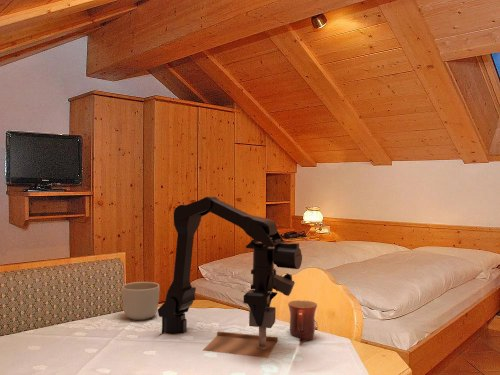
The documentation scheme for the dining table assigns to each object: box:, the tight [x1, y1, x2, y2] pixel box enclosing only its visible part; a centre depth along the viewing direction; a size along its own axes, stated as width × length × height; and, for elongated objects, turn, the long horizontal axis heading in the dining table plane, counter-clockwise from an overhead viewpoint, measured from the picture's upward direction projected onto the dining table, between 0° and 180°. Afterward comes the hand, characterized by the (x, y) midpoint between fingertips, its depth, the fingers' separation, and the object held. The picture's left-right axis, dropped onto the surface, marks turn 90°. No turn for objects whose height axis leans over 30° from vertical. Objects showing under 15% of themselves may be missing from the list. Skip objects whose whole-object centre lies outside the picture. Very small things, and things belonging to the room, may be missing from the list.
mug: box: [287, 299, 318, 342], centre depth 133 cm, size 12×9×10 cm
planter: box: [121, 281, 160, 321], centre depth 153 cm, size 12×12×11 cm
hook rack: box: [202, 327, 279, 359], centre depth 124 cm, size 18×13×7 cm
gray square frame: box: [248, 306, 277, 329], centre depth 123 cm, size 6×6×4 cm
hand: (262, 322), depth 123 cm, fingers closed on gray square frame, 6 cm apart
